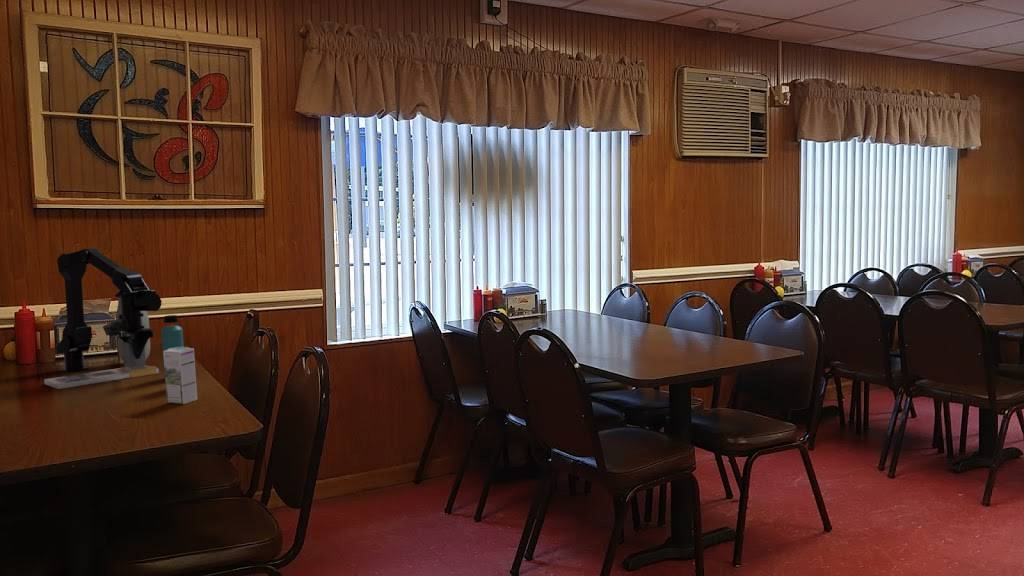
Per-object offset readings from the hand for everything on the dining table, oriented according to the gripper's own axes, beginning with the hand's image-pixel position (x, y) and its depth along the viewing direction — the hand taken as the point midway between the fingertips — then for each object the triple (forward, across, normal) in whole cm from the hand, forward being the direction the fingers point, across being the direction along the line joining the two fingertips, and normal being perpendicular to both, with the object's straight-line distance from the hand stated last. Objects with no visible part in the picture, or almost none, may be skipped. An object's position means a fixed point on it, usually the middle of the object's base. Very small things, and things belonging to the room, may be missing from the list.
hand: (134, 358), depth 254 cm
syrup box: (+5, +55, -10) cm, 56 cm away
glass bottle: (+5, -20, +8) cm, 22 cm away
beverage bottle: (+5, +20, +4) cm, 21 cm away
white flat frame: (+5, 0, -10) cm, 11 cm away
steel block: (+2, 0, 0) cm, 2 cm away
